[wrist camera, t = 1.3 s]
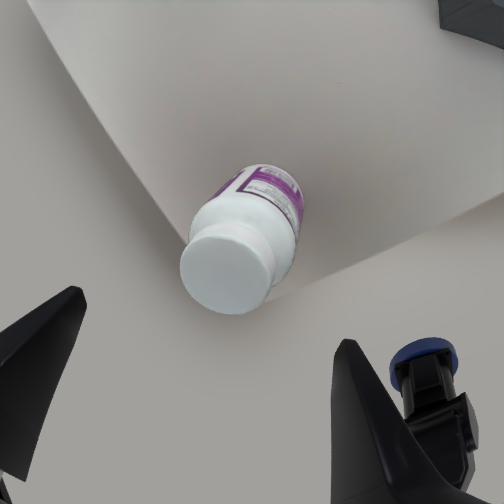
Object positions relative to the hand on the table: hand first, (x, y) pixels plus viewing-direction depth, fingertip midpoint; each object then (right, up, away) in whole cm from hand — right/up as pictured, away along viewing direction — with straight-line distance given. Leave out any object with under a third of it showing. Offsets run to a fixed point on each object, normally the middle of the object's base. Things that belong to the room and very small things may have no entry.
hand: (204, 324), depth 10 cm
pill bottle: (+2, +6, +12) cm, 13 cm away
